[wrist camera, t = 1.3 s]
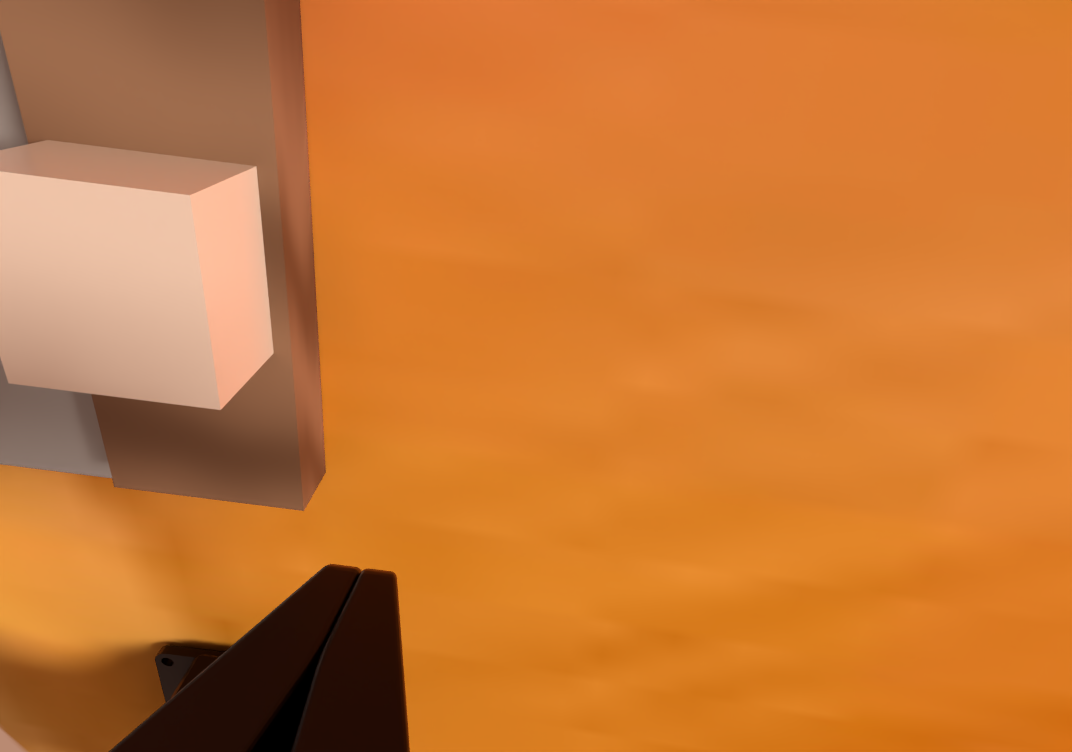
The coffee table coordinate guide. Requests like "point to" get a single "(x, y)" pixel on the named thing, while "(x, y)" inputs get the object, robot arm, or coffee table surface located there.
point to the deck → (210, 134)
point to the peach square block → (131, 274)
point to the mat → (34, 412)
